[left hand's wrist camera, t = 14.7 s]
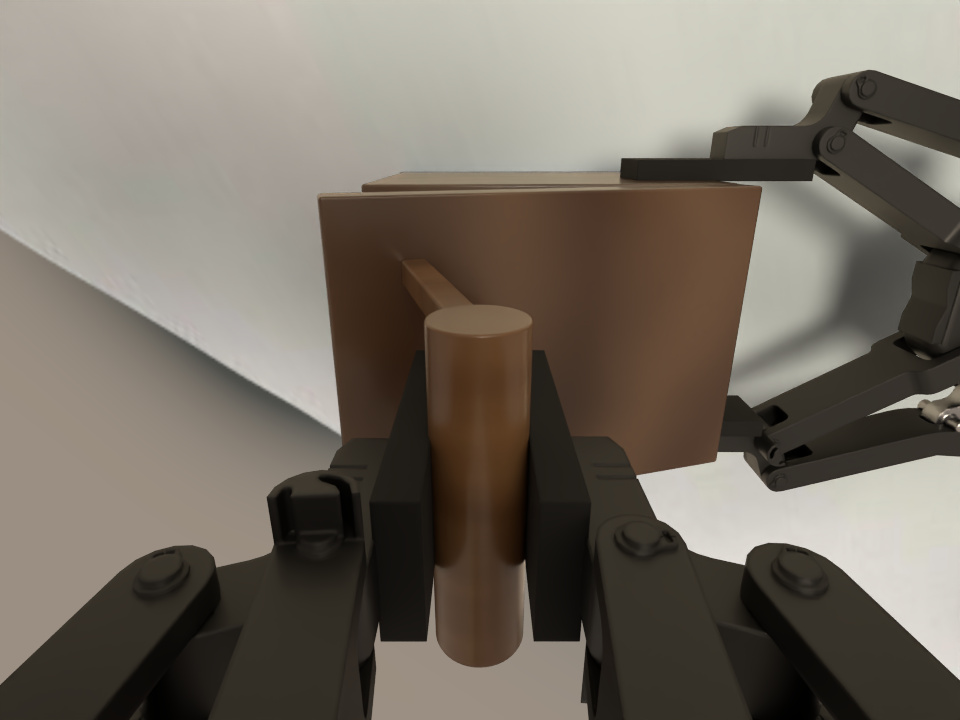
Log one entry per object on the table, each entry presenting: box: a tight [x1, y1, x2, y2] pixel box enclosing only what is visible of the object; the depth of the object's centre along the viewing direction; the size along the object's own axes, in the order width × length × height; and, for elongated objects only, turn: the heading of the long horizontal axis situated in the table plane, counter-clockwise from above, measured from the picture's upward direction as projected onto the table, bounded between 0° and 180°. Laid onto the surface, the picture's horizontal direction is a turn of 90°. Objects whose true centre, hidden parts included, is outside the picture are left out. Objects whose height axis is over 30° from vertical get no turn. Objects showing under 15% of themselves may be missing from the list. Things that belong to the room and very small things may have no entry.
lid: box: [317, 184, 762, 667], centre depth 15 cm, size 14×10×9 cm
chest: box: [362, 172, 737, 192], centre depth 25 cm, size 13×10×10 cm
